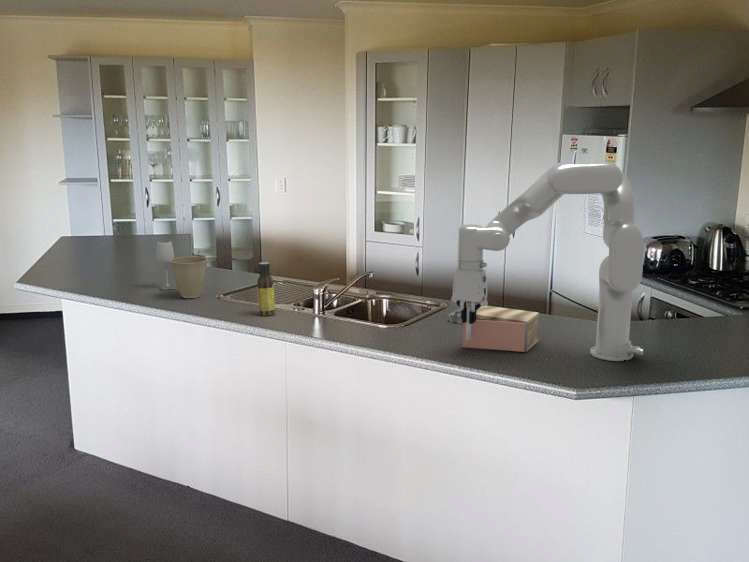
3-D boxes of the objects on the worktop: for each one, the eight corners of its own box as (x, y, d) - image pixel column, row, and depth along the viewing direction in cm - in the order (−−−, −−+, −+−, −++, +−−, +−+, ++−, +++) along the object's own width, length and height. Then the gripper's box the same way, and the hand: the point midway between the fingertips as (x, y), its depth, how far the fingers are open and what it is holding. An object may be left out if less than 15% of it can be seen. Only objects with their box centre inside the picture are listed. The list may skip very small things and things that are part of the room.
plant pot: (195, 302, 284) (193, 264, 280) (165, 299, 289) (162, 261, 286) (216, 294, 297) (214, 257, 294) (187, 291, 303) (184, 255, 299)
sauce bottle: (278, 314, 266) (276, 262, 262) (265, 317, 262) (262, 265, 257) (268, 311, 271) (266, 260, 266) (255, 314, 266) (252, 262, 262)
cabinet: (537, 341, 231) (538, 312, 228) (525, 352, 220) (527, 321, 218) (480, 333, 240) (481, 305, 238) (466, 342, 230) (467, 313, 228)
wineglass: (155, 290, 305) (151, 242, 300) (163, 286, 312) (160, 240, 308) (171, 291, 304) (168, 243, 299) (179, 287, 311) (176, 240, 306)
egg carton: (463, 316, 263) (463, 305, 262) (479, 319, 258) (480, 309, 257) (445, 321, 255) (445, 310, 254) (461, 325, 250) (462, 314, 249)
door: (526, 351, 220) (528, 306, 217) (525, 355, 216) (527, 309, 213) (463, 346, 226) (464, 302, 222) (460, 350, 222) (461, 305, 218)
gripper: (498, 265, 215) (496, 323, 219) (452, 260, 222) (450, 316, 227) (489, 269, 208) (487, 329, 212) (441, 264, 216) (440, 321, 220)
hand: (468, 322), depth 219 cm, fingers closed on door
